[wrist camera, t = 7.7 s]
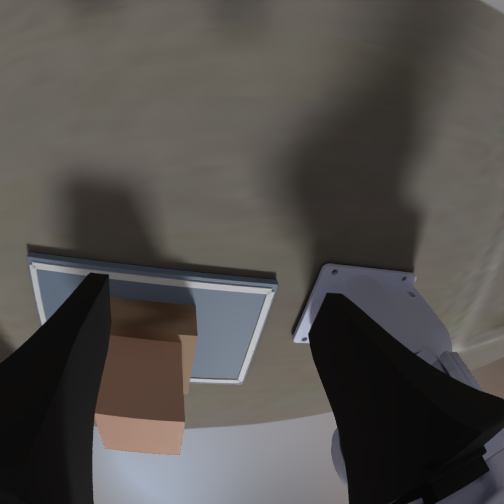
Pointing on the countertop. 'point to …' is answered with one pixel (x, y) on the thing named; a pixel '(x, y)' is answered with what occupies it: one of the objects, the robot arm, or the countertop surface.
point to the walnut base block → (158, 326)
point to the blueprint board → (177, 292)
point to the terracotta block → (142, 396)
